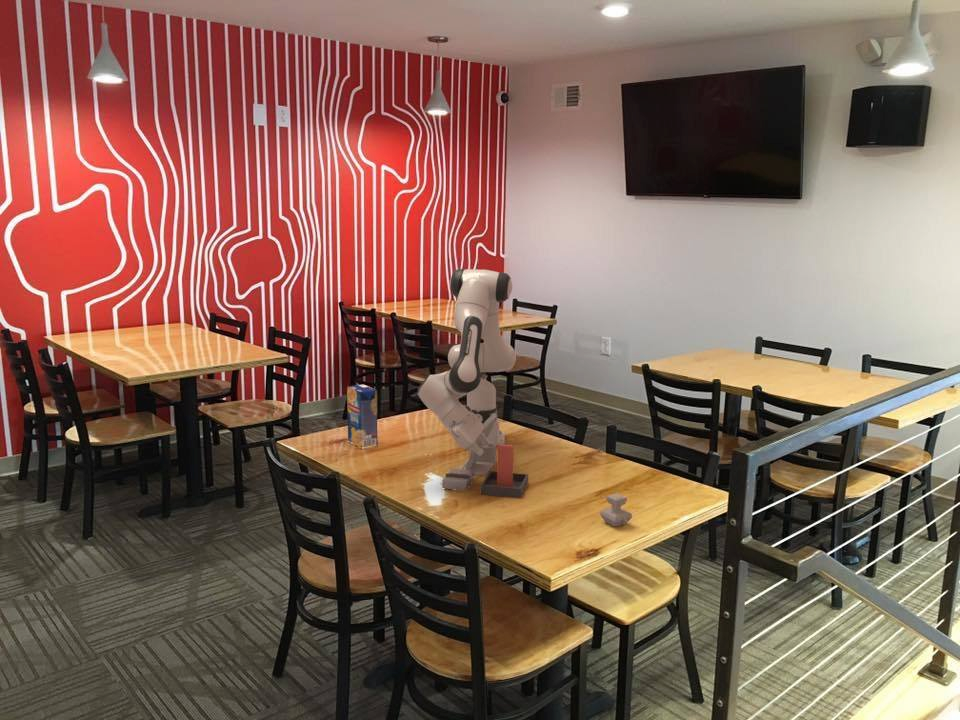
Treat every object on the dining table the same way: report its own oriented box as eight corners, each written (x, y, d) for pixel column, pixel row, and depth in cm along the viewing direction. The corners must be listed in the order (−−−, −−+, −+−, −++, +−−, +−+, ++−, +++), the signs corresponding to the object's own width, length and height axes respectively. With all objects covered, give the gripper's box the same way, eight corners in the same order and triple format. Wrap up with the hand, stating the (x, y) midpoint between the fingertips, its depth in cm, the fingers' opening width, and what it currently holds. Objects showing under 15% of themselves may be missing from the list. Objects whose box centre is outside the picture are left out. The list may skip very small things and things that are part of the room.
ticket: (497, 485, 252) (498, 444, 250) (512, 486, 251) (513, 445, 249) (496, 486, 251) (497, 445, 248) (512, 488, 250) (513, 446, 247)
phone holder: (470, 458, 282) (471, 410, 278) (497, 460, 279) (498, 412, 275) (456, 473, 265) (457, 422, 262) (485, 476, 262) (486, 425, 259)
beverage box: (363, 439, 302) (363, 384, 298) (377, 446, 293) (377, 389, 289) (348, 442, 298) (347, 386, 294) (361, 449, 289) (360, 392, 285)
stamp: (634, 526, 223) (636, 499, 221) (617, 531, 219) (619, 503, 218) (613, 516, 230) (614, 489, 229) (596, 520, 227) (597, 493, 225)
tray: (489, 479, 259) (489, 470, 259) (528, 483, 257) (528, 474, 256) (480, 494, 246) (480, 485, 245) (520, 498, 243) (521, 488, 243)
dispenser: (451, 476, 262) (451, 466, 261) (474, 478, 260) (475, 468, 259) (442, 488, 250) (442, 478, 249) (466, 491, 248) (466, 480, 248)
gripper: (455, 420, 240) (485, 453, 240) (469, 404, 259) (497, 434, 259) (441, 433, 241) (471, 466, 241) (456, 416, 261) (484, 446, 261)
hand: (485, 449), depth 250 cm, fingers open, 8 cm apart
